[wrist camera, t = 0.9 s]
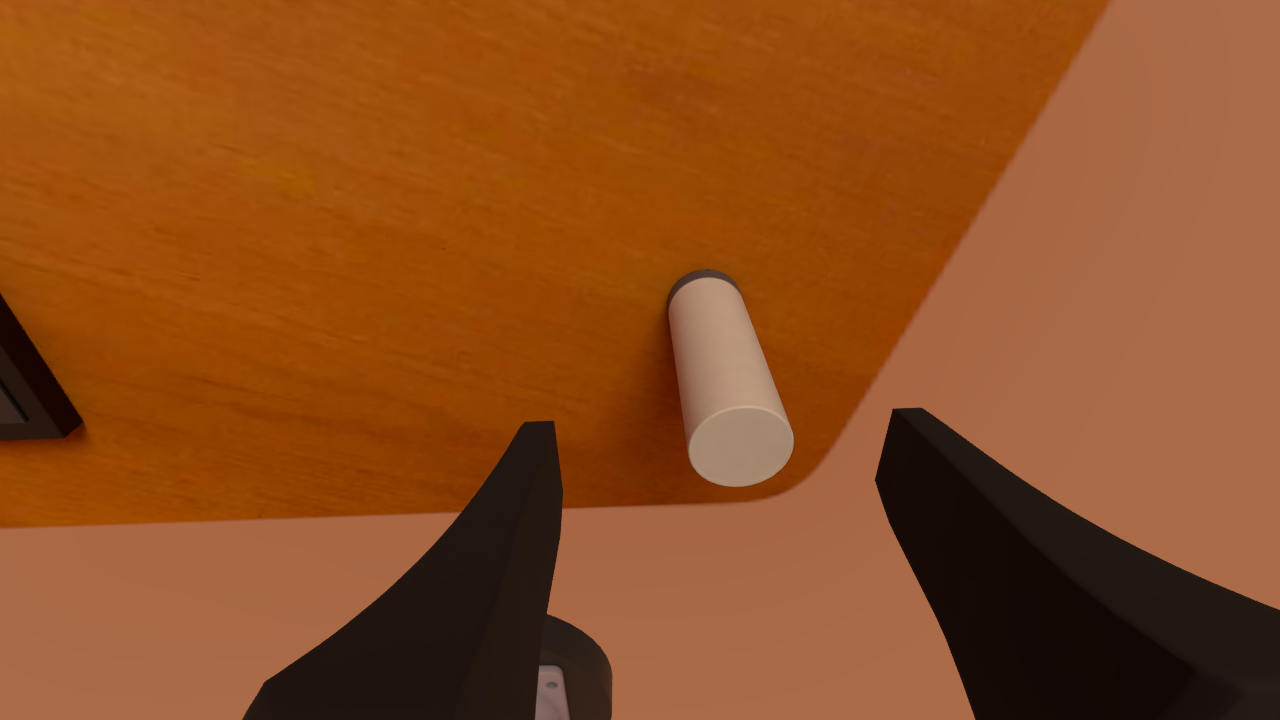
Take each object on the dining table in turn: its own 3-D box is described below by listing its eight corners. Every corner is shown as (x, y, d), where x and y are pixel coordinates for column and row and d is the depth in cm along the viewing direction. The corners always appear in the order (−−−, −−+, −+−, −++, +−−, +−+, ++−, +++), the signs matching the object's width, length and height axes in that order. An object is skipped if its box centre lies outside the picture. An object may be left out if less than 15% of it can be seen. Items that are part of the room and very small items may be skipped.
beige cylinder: (737, 333, 20) (788, 486, 14) (666, 335, 20) (686, 489, 14) (743, 268, 19) (800, 404, 13) (667, 270, 19) (689, 408, 13)
